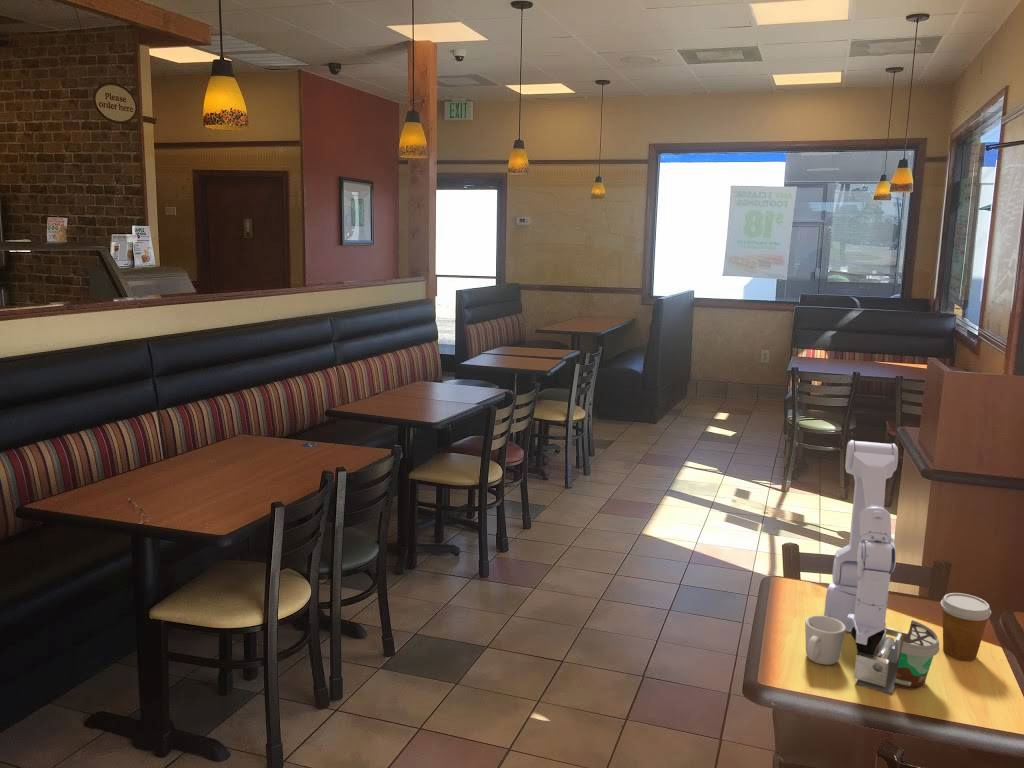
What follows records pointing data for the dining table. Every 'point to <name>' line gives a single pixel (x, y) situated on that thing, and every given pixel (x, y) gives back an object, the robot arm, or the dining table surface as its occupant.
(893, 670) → the mat
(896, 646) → the bearing block
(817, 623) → the cup
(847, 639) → the dining table surface
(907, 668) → the food container
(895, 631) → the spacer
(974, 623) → the disposable coffee cup
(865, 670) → the shaft
